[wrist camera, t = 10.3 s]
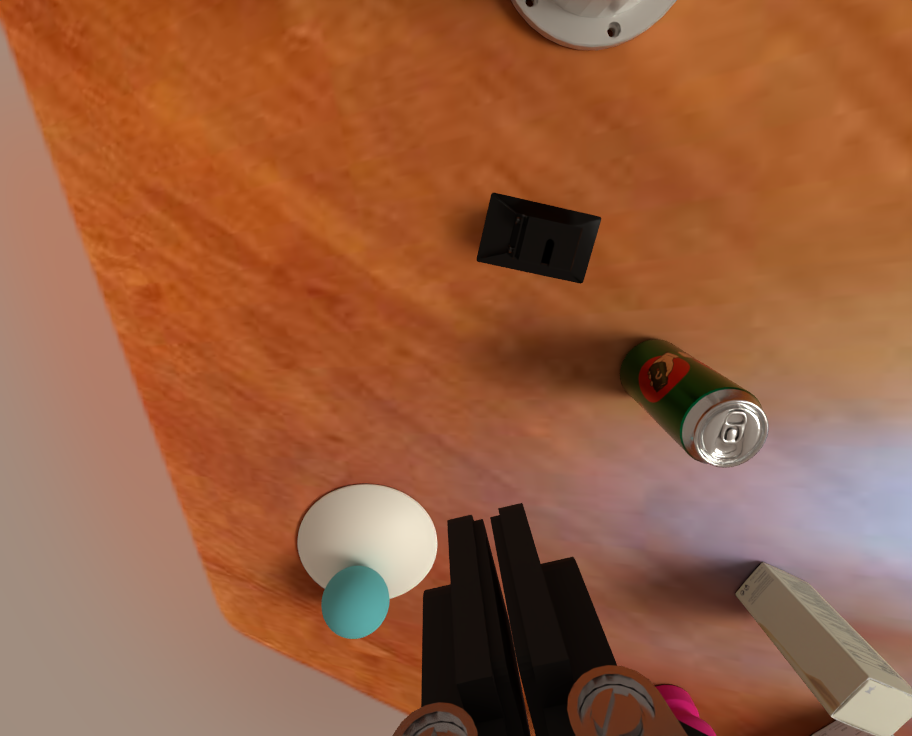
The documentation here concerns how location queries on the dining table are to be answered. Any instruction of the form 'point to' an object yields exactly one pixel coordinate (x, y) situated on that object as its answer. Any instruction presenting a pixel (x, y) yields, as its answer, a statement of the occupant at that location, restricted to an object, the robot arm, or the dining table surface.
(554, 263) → the black box
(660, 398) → the soda can
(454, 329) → the dining table surface
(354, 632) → the ball
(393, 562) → the white rounded object
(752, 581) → the skincare box
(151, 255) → the dining table surface
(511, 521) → the robot arm
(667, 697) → the pepper mill
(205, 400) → the dining table surface
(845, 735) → the light bulb box
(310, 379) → the dining table surface
